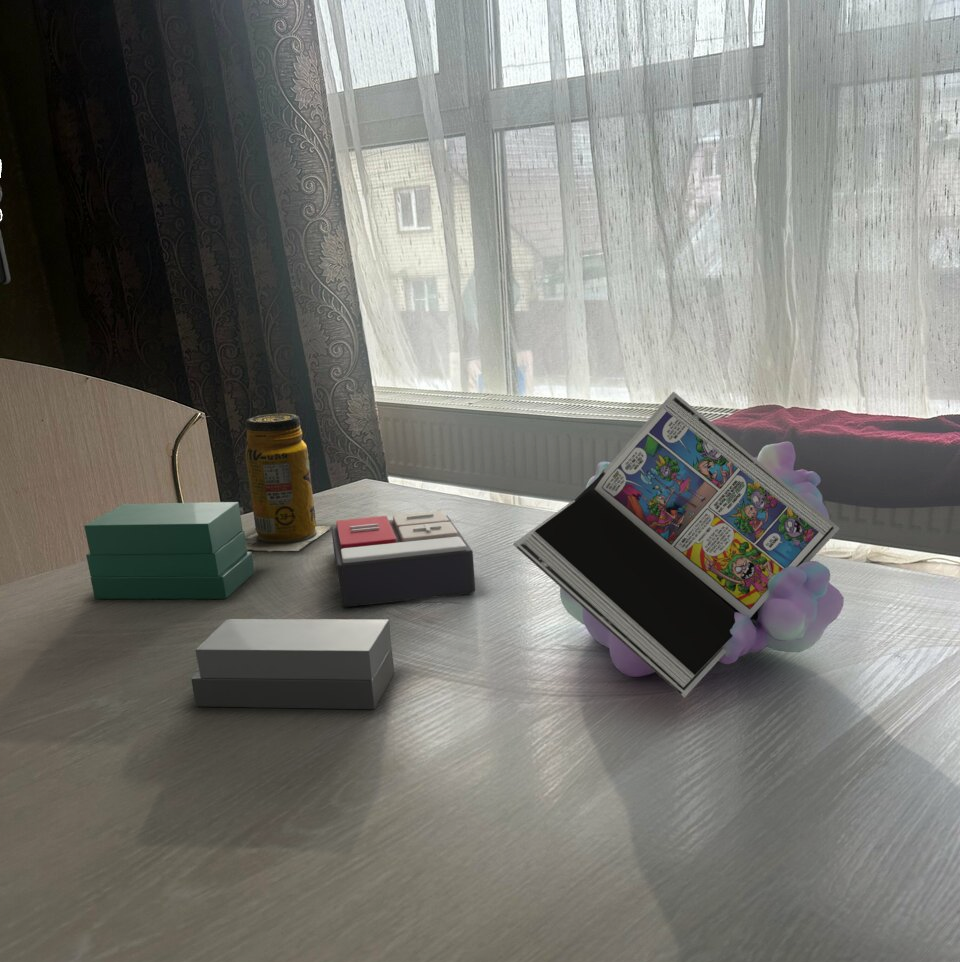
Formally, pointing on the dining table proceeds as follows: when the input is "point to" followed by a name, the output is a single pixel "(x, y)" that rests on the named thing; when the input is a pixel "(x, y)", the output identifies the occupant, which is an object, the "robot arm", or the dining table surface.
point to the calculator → (401, 558)
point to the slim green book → (164, 528)
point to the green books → (172, 573)
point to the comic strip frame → (691, 551)
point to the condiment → (280, 484)
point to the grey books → (295, 664)
